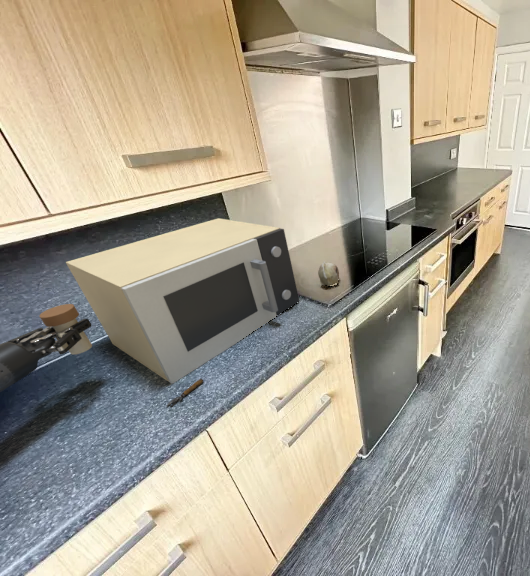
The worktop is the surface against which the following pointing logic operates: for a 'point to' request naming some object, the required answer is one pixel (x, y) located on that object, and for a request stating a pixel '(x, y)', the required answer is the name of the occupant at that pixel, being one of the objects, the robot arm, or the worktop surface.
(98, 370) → the worktop surface
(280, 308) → the microwave
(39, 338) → the robot arm
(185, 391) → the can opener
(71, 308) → the mushroom
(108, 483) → the worktop surface
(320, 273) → the garlic bulb
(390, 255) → the worktop surface
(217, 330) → the microwave door
